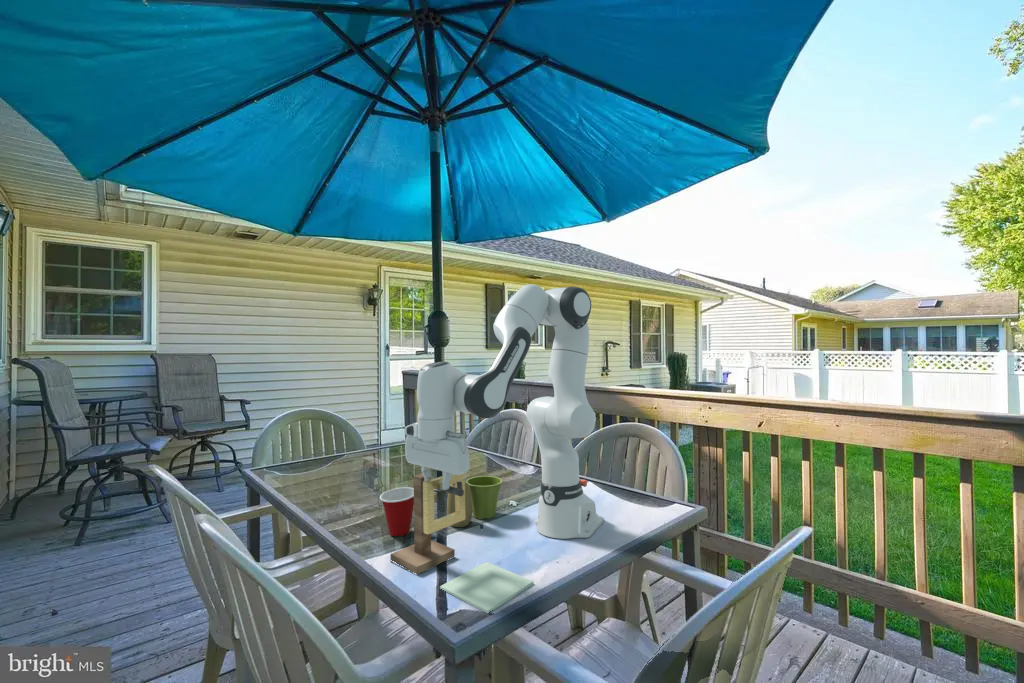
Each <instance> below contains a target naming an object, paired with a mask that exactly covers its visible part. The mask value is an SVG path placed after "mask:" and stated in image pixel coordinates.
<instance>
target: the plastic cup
mask: <svg viewBox="0 0 1024 683" xmlns="http://www.w3.org/2000/svg"><path fill="white" fill-rule="evenodd" d="M379 500H380V501H381V502H382V506H383V508H384V514H385V519H386V524H387V527H388V533H389V535H390V536H391V535H392V536H391V537H393V536H401V537H404V536H403V535H405V536H407V535H409V534H410V531H411V525H412V518H413V515H414V487H410V486H409V487H408V486H407V487H406V486H405V487H396V488H392V489H388V490H386V491H384V492H382V493H381V494H380V495H379ZM406 534H407V535H406Z"/></svg>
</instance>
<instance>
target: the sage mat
mask: <svg viewBox="0 0 1024 683" xmlns="http://www.w3.org/2000/svg"><path fill="white" fill-rule="evenodd" d="M532 585H534V580H532V579H530V578H527V577H524V576H523V575H520V574H517V573H514V572H512V571H511V570H508V569H505V568H502V567H500V566H498V565H496V564H493V563H491V562H488V561H485V562H483V563H480V565H477V566H476V567H473V568H472V569H470V570H468V571H466V572H465V573H463V574H460V575H459V576H456V577H455V578H453V579H451V580H449V581H448V582H445V583H444V584H442V585H440V586H439V589H440V590H441V589H442V590H441V591H443V590H444V591H443V592H445V591H446V592H445V593H447V592H448V593H447V594H449V593H450V594H449V595H451V594H452V595H451V596H453V595H454V596H453V597H455V596H456V597H455V598H457V597H458V598H457V599H459V598H460V599H459V600H461V599H462V600H464V601H466V602H467V603H466V602H465V603H466V604H468V603H470V604H471V605H470V604H469V605H470V606H472V605H473V606H472V607H475V608H476V609H478V610H480V611H482V612H484V613H486V614H490V613H491V612H493V611H495V610H496V609H498V608H499V607H500V606H502V605H504V604H505V603H506V602H508V601H510V600H511V599H513V598H514V597H515V596H517V595H519V594H521V593H522V592H523V591H525V590H526V589H527V588H529V587H530V586H532ZM524 589H525V590H524ZM521 591H522V592H521ZM518 593H519V594H518ZM462 600H461V601H462ZM464 601H463V602H464ZM492 610H493V611H492ZM490 611H491V612H490ZM489 612H490V613H489Z"/></svg>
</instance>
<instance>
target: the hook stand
mask: <svg viewBox="0 0 1024 683" xmlns="http://www.w3.org/2000/svg"><path fill="white" fill-rule="evenodd" d="M423 482H424V476H423V474H422V473H419V474H415V475H413V488H414V506H413V529H414V531H413V533H414V534H413V537H414V538H413V539H414V542H413V544H411V545H408V546H406V547H404V548H401V549H399V550H397V551H394V552H392V553H390V561H391V560H392V561H394V562H396V563H397V564H399V565H401V566H403V567H404V568H406V569H408V570H410V571H412V572H414V573H416V574H419V573H421V572H423V571H425V572H427V571H429V570H431V569H433V568H432V567H434V568H435V566H436V565H438V564H440V563H442V562H444V561H446V560H448V559H450V558H452V557H454V556H456V555H455V554H456V553H455V551H456V550H455V549H454V548H452V547H451V546H447V545H445V544H442V543H440V542H437V541H435V540H432V533H431V534H425V533H424V525H423ZM436 490H439V491H440V492H445V493H447V494H448V493H451V494H454V495H458V496H463V494H464V490H463V489H462V482H457V488H455V487H452V486H450V487H449V489H447V490H443V489H440V488H437V489H436ZM454 558H455V557H454ZM452 559H453V558H452ZM450 560H451V559H450ZM448 561H449V560H448ZM446 562H447V561H446ZM444 563H445V562H444ZM442 564H443V563H442ZM440 565H441V564H440ZM438 566H439V565H438ZM436 567H437V566H436ZM404 568H403V569H404ZM430 568H431V569H430ZM406 569H405V570H406ZM428 569H429V570H428ZM408 570H407V571H408ZM426 570H427V571H426ZM423 573H424V572H423ZM421 574H422V573H421ZM419 575H420V574H419Z"/></svg>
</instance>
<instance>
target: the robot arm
mask: <svg viewBox="0 0 1024 683" xmlns="http://www.w3.org/2000/svg"><path fill="white" fill-rule="evenodd" d="M591 311H592V300H591V297H590V295H589V293H588V292H587V291H586V290H585V289H584V288H582V287H578V286H569V287H568V286H567V287H564V286H563V287H553V288H551V289H546V290H544V289H543V287H541V286H540V285H536V284H533V283H530V284H525V285H523V286H522V287H521V288H519V289H518V290H517V291H516V292H515V293H514V294H513V295H512V296H511V297H510V298H509V299H508V301H507V302H506V303H505V304H504V306H502V309H501V310H500V311H499V312H498V314H497V316H496V317H495V320H494V323H492V324H493V326H492V327H493V332H494V335H495V337H496V339H497V340H498V341H499V342H500V343H501V344H502V347H501V350H500V351H499V353H498V355H497V356H496V359H495V360H494V362H493V363H492V365H491V368H489V370H488V371H486V372H484V373H483V374H482V373H481V374H480V375H478V374H471V373H470V374H469V373H467V372H464V371H462V370H460V369H458V368H457V367H455V366H453V365H452V364H451V363H450V362H448V361H438V362H431V363H428V364H425V365H423V366H422V367H421V368H420V369H419V371H418V376H417V381H416V382H417V384H416V385H417V386H416V401H417V404H418V405H417V406H418V412H417V417H416V418H417V419H416V420H417V422H413V423H411V424H409V425H406V426H405V427H404V434H405V436H406V437H405V441H404V446H405V447H404V451H405V452H404V453H405V459H406V461H407V463H408V464H410V465H411V464H412V465H416V466H419V467H420V470H421V474H423V476H424V481H427V480H431V479H434V478H435V477H434V476H433V475H432V472H431V469H432V470H436V471H441V472H442V475H441V476H444V478H443V481H441V482H440V489H443V490H447V489H449V487H450V485H451V484H450V483H449V481H450V480H451V478H452V476H453V474H455V475H461V474H464V473H465V474H466V473H468V472H469V470H471V469H470V467H471V462H470V454H469V452H470V451H469V446H468V443H467V439H466V437H465V436H464V435H463V433H461V432H455V413H456V412H457V411H458V412H462V413H464V414H470V415H473V416H476V417H479V418H482V419H491V418H494V417H496V416H498V415H499V414H500V413H501V412H502V411H503V409H504V407H505V405H506V404H507V400H508V396H509V393H510V392H509V391H510V390H511V389H510V388H511V386H512V384H513V381H514V380H515V377H516V376H517V374H518V372H519V370H520V368H521V366H522V364H523V362H524V360H525V358H526V356H527V354H528V352H529V350H530V348H531V343H532V337H533V336H534V333H535V332H536V330H537V329H538V327H539V326H543V327H544V326H550V327H551V326H553V328H554V333H555V334H554V335H555V336H554V338H553V343H552V347H551V353H550V358H549V359H550V360H549V365H548V370H547V376H548V379H549V380H550V381H551V383H552V386H553V391H554V392H553V393H554V394H553V395H554V396H548V395H547V396H540V397H537V398H534V399H533V400H531V401H530V403H528V405H527V408H526V418H527V421H528V423H529V424H530V426H531V427H532V429H533V432H534V434H535V436H536V440H537V444H538V447H539V453H540V462H541V480H540V485H539V487H540V495H539V499H538V511H537V517H536V518H535V521H534V522H535V524H536V525H537V526H536V528H537V531H538V532H539V533H540V534H541V535H543V536H545V537H548V538H554V539H562V540H564V539H565V540H566V539H567V540H569V539H575V538H579V539H580V538H582V539H583V538H585V539H587V538H590V537H591V536H592V535H593V534H594V533H595V532H596V530H597V529H599V527H601V525H602V524H603V523H604V521H605V517H603V516H602V515H600V514H598V513H597V509H596V503H595V501H594V500H593V499H592V498H591V497H589V496H588V495H587V494H586V493H584V490H583V487H584V488H587V485H588V481H587V480H586V479H582V478H581V479H580V463H579V462H580V458H579V454H578V452H577V451H576V449H575V448H574V446H573V445H572V442H571V441H570V439H580V438H581V439H582V438H586V437H588V436H589V435H591V433H592V432H593V431H594V429H595V427H596V422H597V417H596V412H594V409H593V408H592V407H591V405H590V403H589V400H588V398H587V394H586V393H587V392H586V385H585V384H586V382H585V380H586V379H585V378H586V370H587V365H588V364H587V362H588V356H589V348H590V328H589V325H588V321H589V318H590V315H591Z"/></svg>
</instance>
